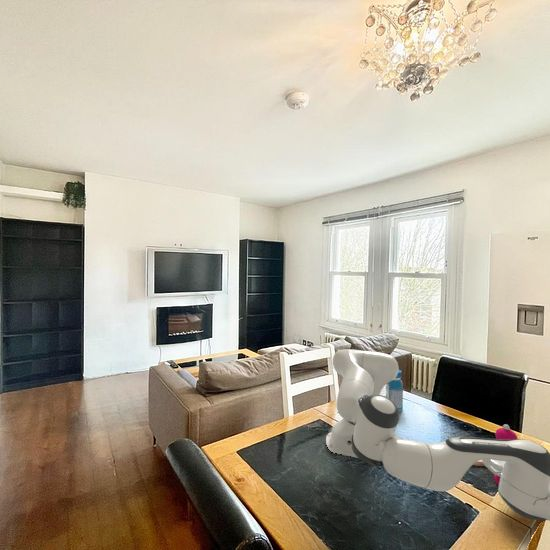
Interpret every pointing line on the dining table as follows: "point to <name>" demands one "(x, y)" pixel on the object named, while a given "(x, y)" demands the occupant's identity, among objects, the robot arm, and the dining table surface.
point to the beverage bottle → (395, 391)
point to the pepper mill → (504, 435)
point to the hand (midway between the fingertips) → (505, 450)
